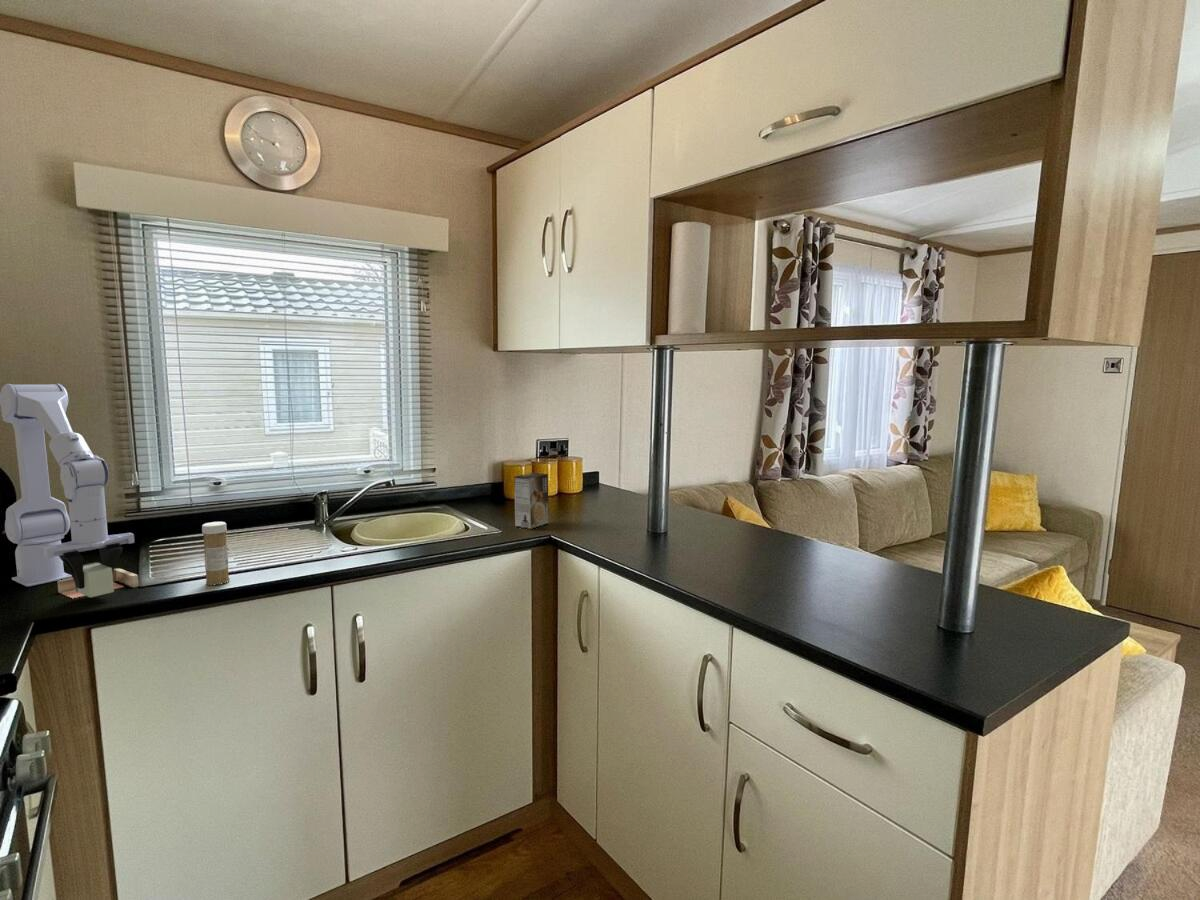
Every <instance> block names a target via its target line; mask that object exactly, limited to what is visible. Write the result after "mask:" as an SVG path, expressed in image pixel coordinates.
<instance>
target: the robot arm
mask: <svg viewBox="0 0 1200 900" xmlns="http://www.w3.org/2000/svg"><path fill="white" fill-rule="evenodd" d="M68 405H69V395H68V392H67V389H66V388H65V387H64V385H62V384H61V383H55V384H53V383H52V384H42V383H41V384H31V383H30V384H11V383H6V384H4V386H2V388H1V390H0V411H1V412H0V413H1V417H2V421H3V422H5V423H9V424H12V427H13V430H14V440H15V448H16V459H17V466H18V476H19V485H20V494H21V497H20V499H19V498H18V500H17V501H15V502H14V503H13V504H12V505H10V506H8V508H6V511H5V521H4V530H5V534H6V537H7V539H8V540H9V541H10V542H11V543H13V544H17V546H16V548H15V551H14V556H15V565H16V575H17V576H14V577H13V576H12V577H11V580H12V581H14V582H16V583H18V584H21V585H23V586H25V587H32V586H38V585H43V584H47V583H51V582H56V581H60V580H61V579H62V580H64V579H69V578H73V579H74V581H75V584H76V587H77V588H79V589H82V588H84V577H83V565H84V558H85V557H84V556H82V555H81V552H86V551H92V550H96V549H98V551H99V555H100V560H101V564H102V565H105V566H108V567H110V568H112V575H113V571H114V569H116V564H117V562H118V560H119V558H120V557H121V554H122V553H123V547H122V546H121V545H124V544H125V545H126V544H129V545H130V544H134V543H135V534H134V533H132V532H126V533H125V532H124V533H118V534H110V535H109V533H108V521H107V510H106V509H107V508H106V497H105V495H106V494H105V486H107V485H108V483H109V480H110V471H109V467H108V464H107V462H106V460H105V459H104V458H102V457H100V456H99V455H97V454H96V455H95V454H93V452H92V450H91V449H90V447H89V445H88V443H87V441H86V440H85V438H84V436H83V435H82V434H80V433H78V432H74V431H73V428H72V426H71V424H70V422H69V419H68V417H67V414H66V413H67V408H68ZM45 431H46V433H47V434H48V436H49V437H50V439H51V440H50V441H49V442H48V447H49V450H50V451H51V454H52V455H53V457H54V460H56V463H58V466H59V467H60V470H59V471H60V473H59V476H60V483H61V485H62V487H63V493H64V496H65V497H64V498H65V499H67V500H68V502H67V503H68V509H67V505H66V504H65V503H64V502H63V501H62V500H60V499H57V498H55V497H52V496H51V487H50V477H49V467H48V455H47V448H46V438H45V437H46V436H45ZM68 510H69V513H68ZM69 531H70V534H71V535H70V536H71V541H67V542H62V539H64V538H65V535H67V534H68V532H69ZM64 565H65V566H66V568H67V569H68V571H69V573H66V572H65V570H64V567H65V566H64Z"/></svg>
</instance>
